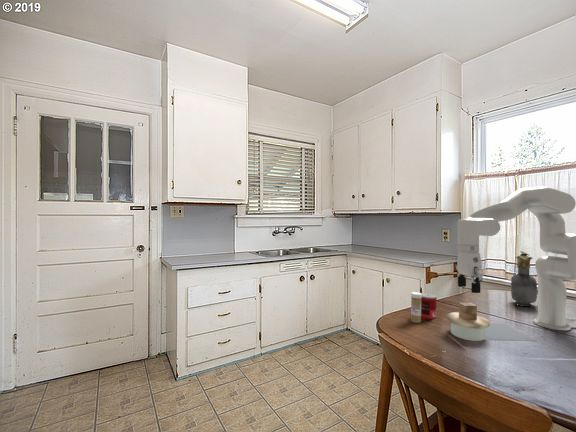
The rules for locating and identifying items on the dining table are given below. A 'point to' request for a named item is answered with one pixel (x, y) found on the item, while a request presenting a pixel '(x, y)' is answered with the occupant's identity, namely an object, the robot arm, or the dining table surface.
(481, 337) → the bowl
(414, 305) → the sprinkles bottle
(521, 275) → the grey vase
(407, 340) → the dining table surface
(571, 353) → the dining table surface
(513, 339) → the mat
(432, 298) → the canned food
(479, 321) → the lid
